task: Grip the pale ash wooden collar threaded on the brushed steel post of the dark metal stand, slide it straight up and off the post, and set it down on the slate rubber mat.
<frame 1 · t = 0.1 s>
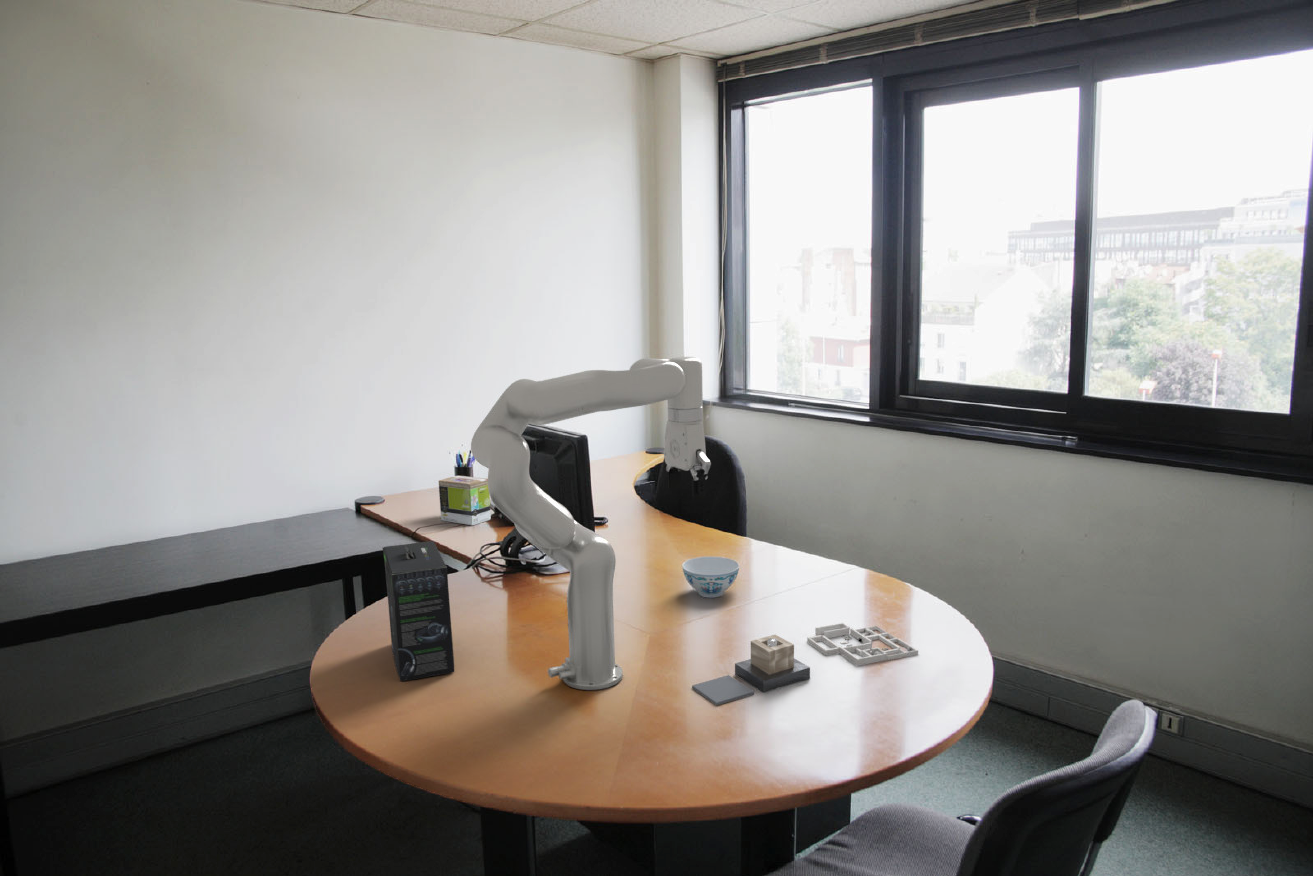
hand: (686, 493, 198), 37 cm above the table, tool pointing down, fingers open, 9 cm apart
collar: (772, 665, 191), point 2 cm above the table, touching post stand
chinaware: (711, 593, 242), on the table
post stand: (772, 676, 191), on the table
tea box: (466, 520, 319), on the table
headset box: (421, 659, 205), on the table
mat: (722, 691, 185), on the table
floor plan model: (846, 649, 205), on the table
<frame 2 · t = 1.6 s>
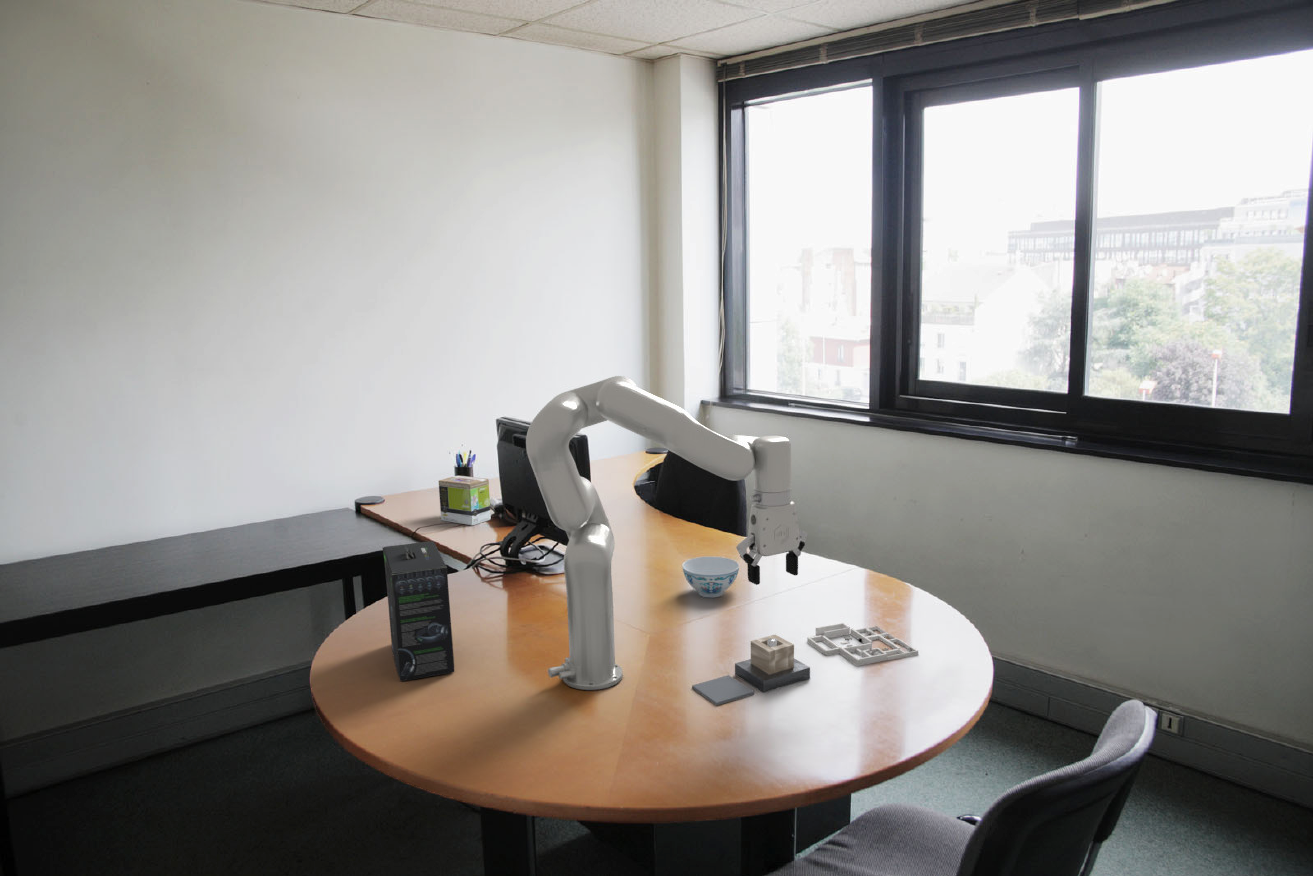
hand: (773, 578, 187), 22 cm above the table, tool pointing down, fingers open, 9 cm apart
nothing on the table moved.
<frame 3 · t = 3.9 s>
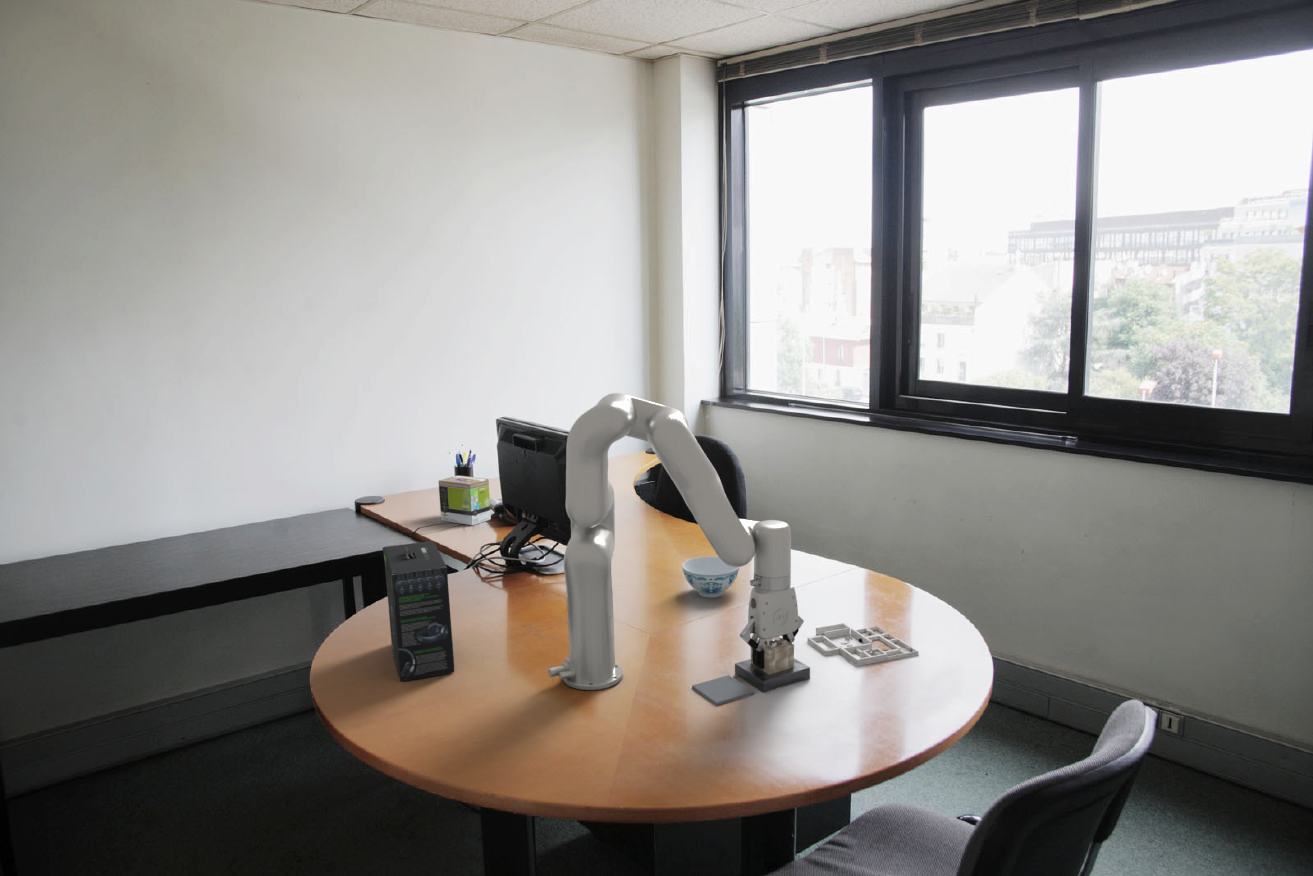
hand: (772, 661, 191), 3 cm above the table, tool pointing down, fingers closed on collar, 6 cm apart
collar: (772, 665, 191), point 3 cm above the table, touching gripper, post stand
everything else where it was.
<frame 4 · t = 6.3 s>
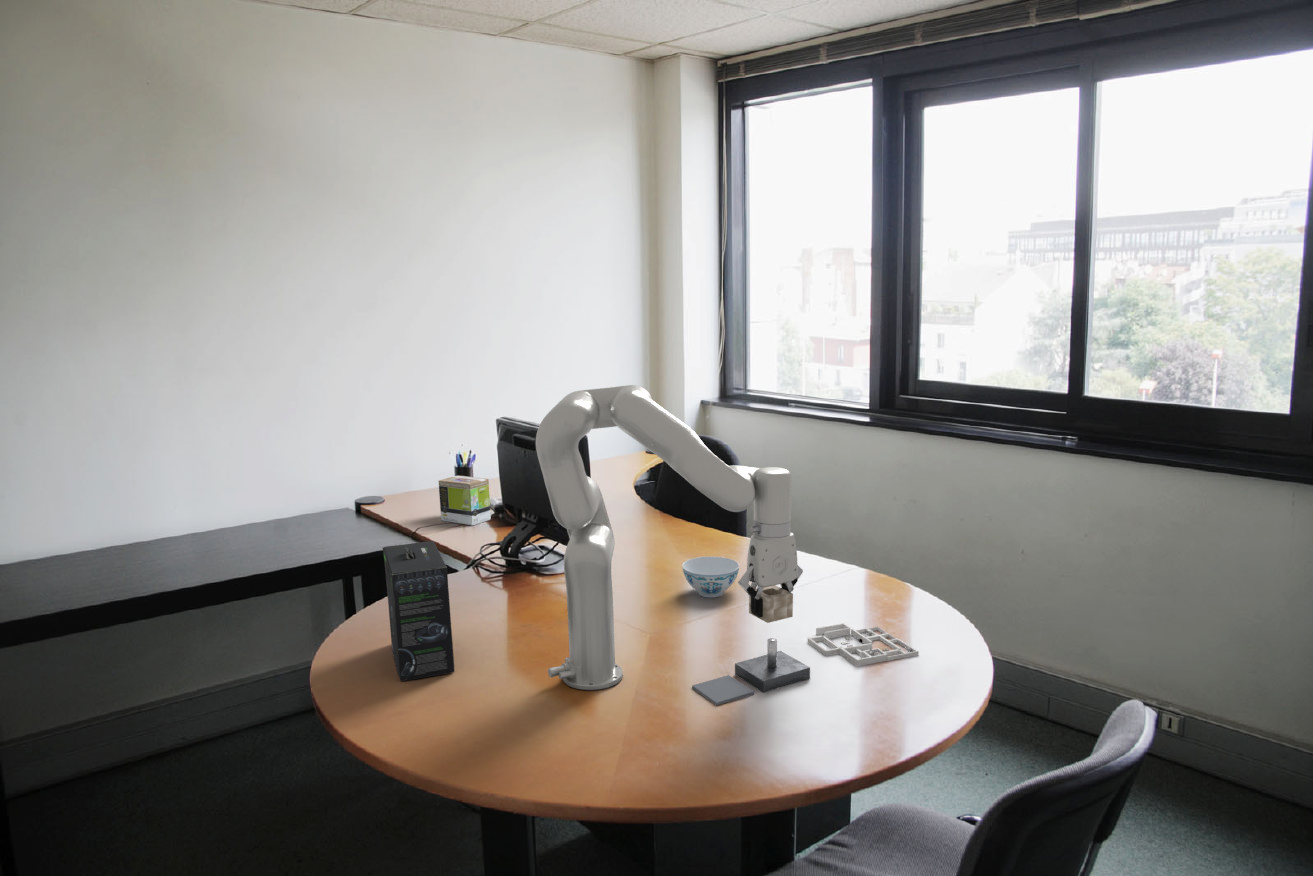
hand: (770, 611, 189), 14 cm above the table, tool pointing down, fingers closed on collar, 6 cm apart
collar: (770, 614, 189), point 14 cm above the table, touching gripper
everything else where it was.
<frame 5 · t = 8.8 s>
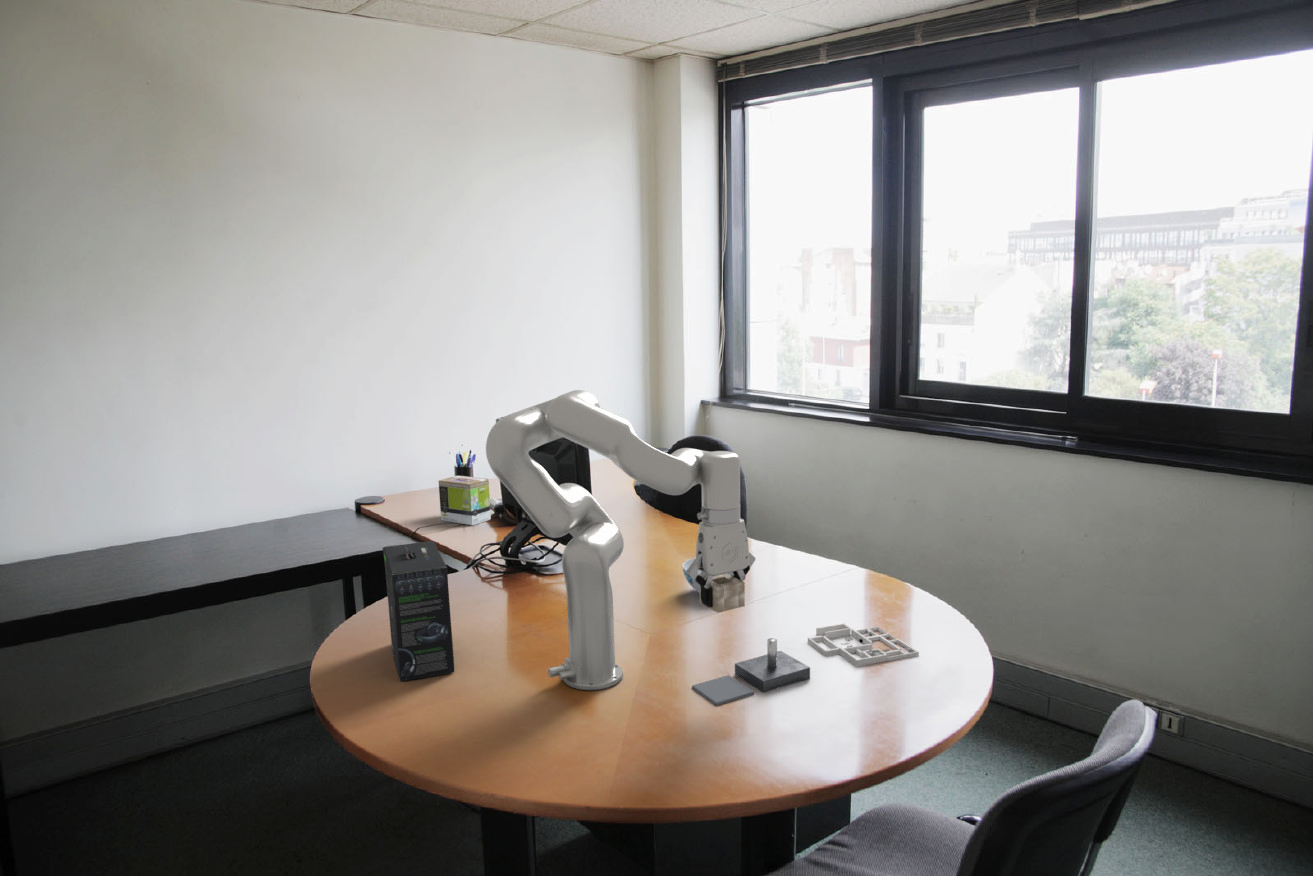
hand: (722, 601, 182), 19 cm above the table, tool pointing down, fingers closed on collar, 6 cm apart
collar: (722, 604, 182), point 19 cm above the table, touching gripper
everything else where it was.
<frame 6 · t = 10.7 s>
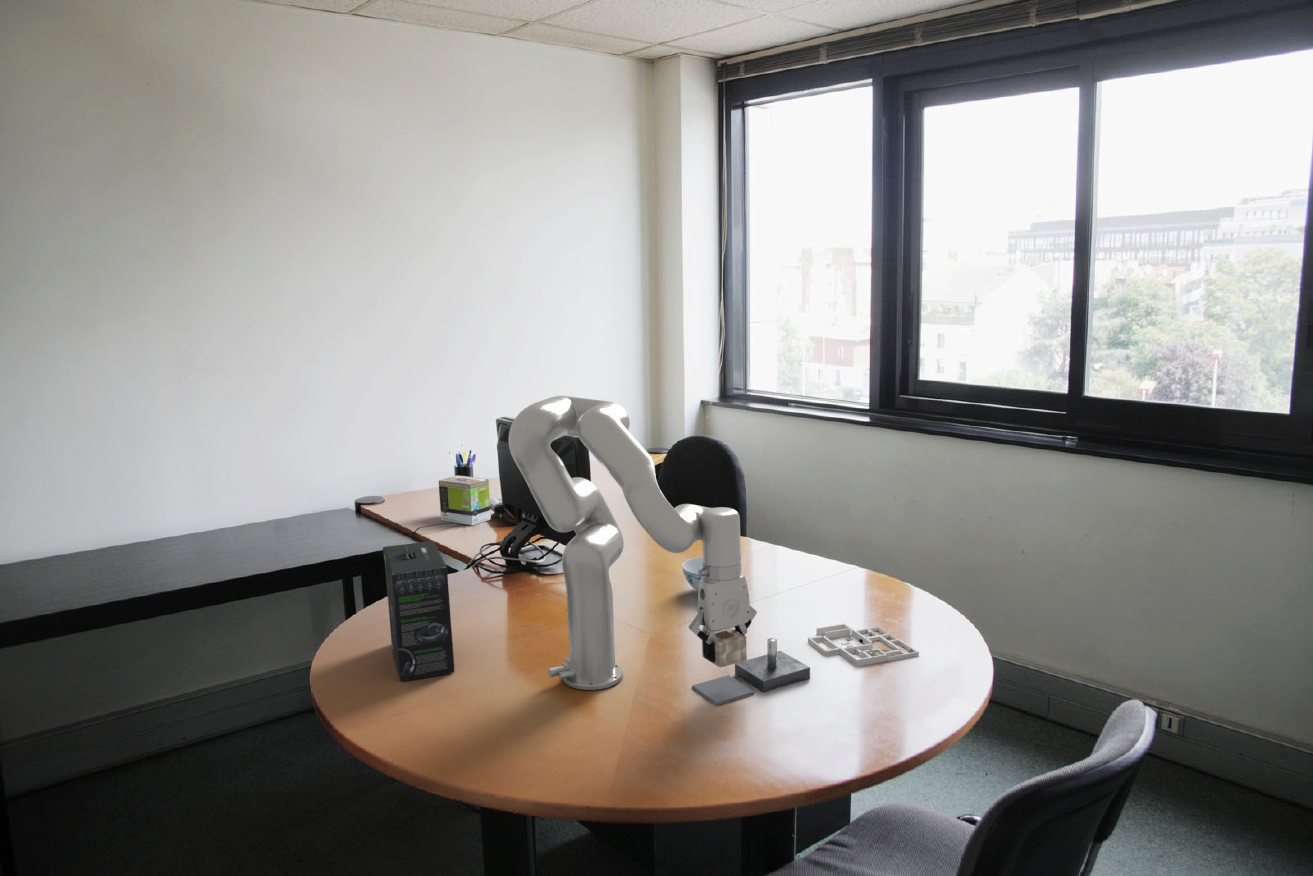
hand: (724, 654, 184), 8 cm above the table, tool pointing down, fingers closed on collar, 6 cm apart
collar: (724, 658, 184), point 7 cm above the table, touching gripper
everything else where it was.
when the fingers open (3 cm above the table, at t = 12.3 s): collar drops 1 cm, resting on mat.
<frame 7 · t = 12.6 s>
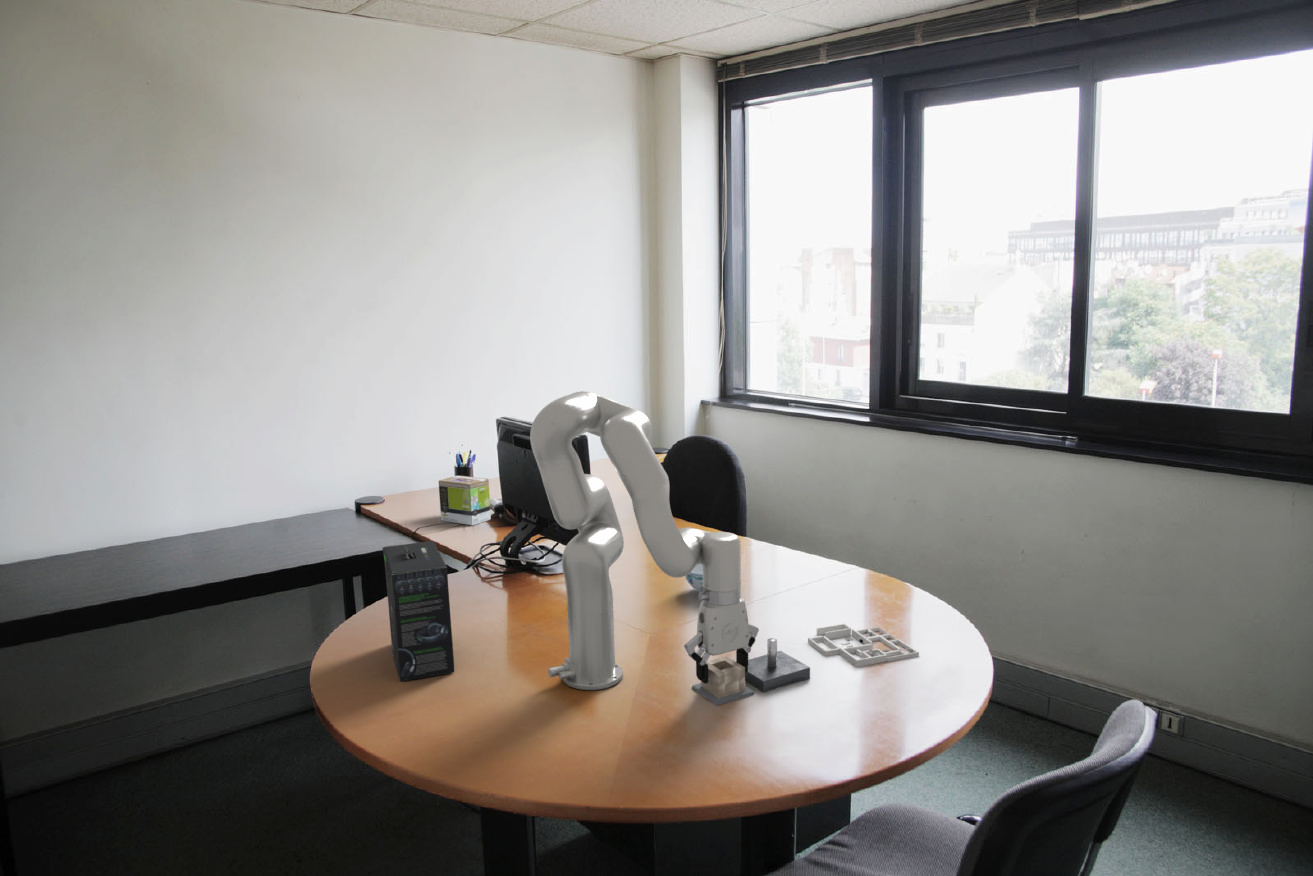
hand: (722, 675, 185), 3 cm above the table, tool pointing down, fingers open, 9 cm apart
collar: (722, 688, 185), point 1 cm above the table, touching mat
everything else where it was.
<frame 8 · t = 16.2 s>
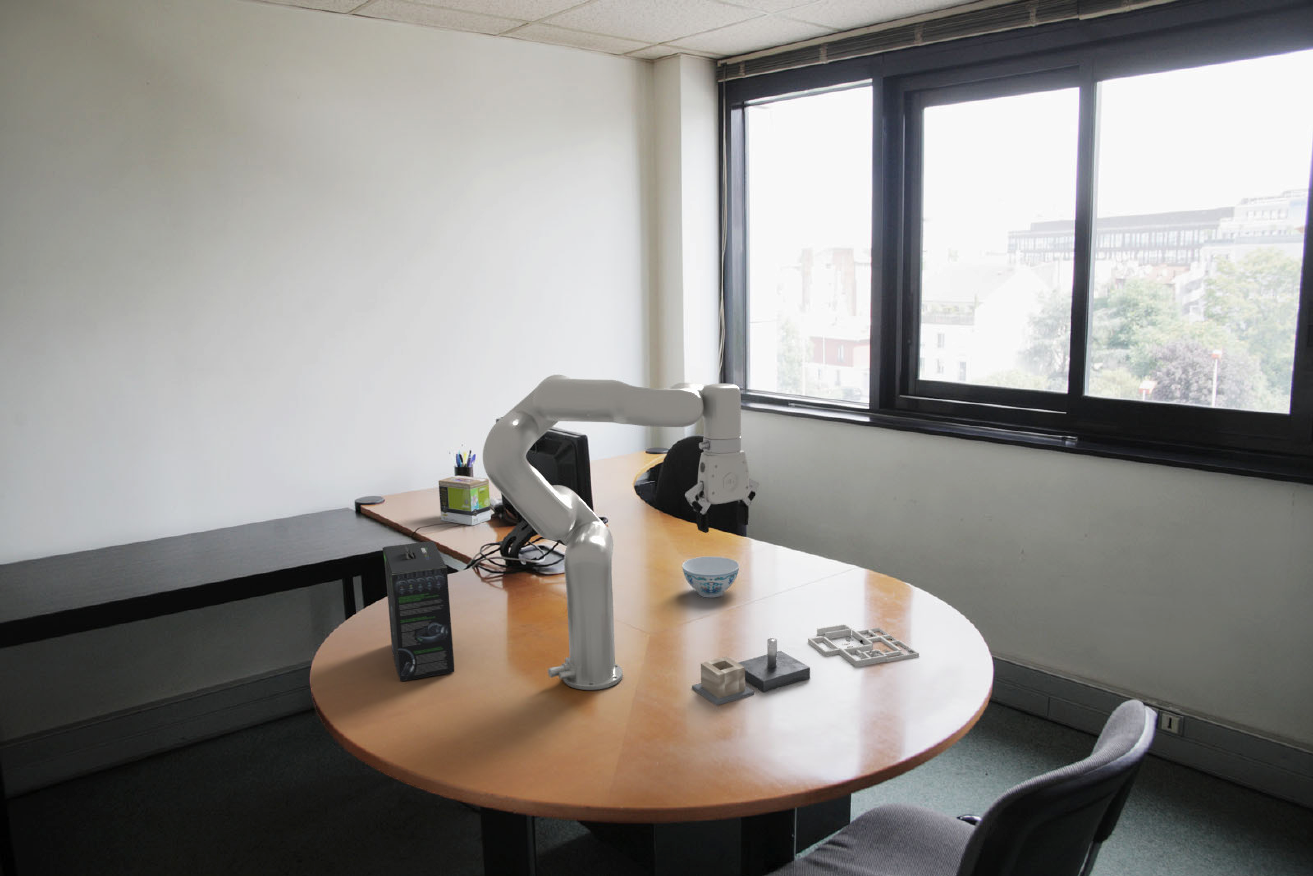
hand: (723, 527, 187), 32 cm above the table, tool pointing down, fingers open, 9 cm apart
nothing on the table moved.
at the end: collar 0.0 cm off-centre on the mat, point 0.6 cm above the mat's base; collar tilted 0°; the gripper is holding nothing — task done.
